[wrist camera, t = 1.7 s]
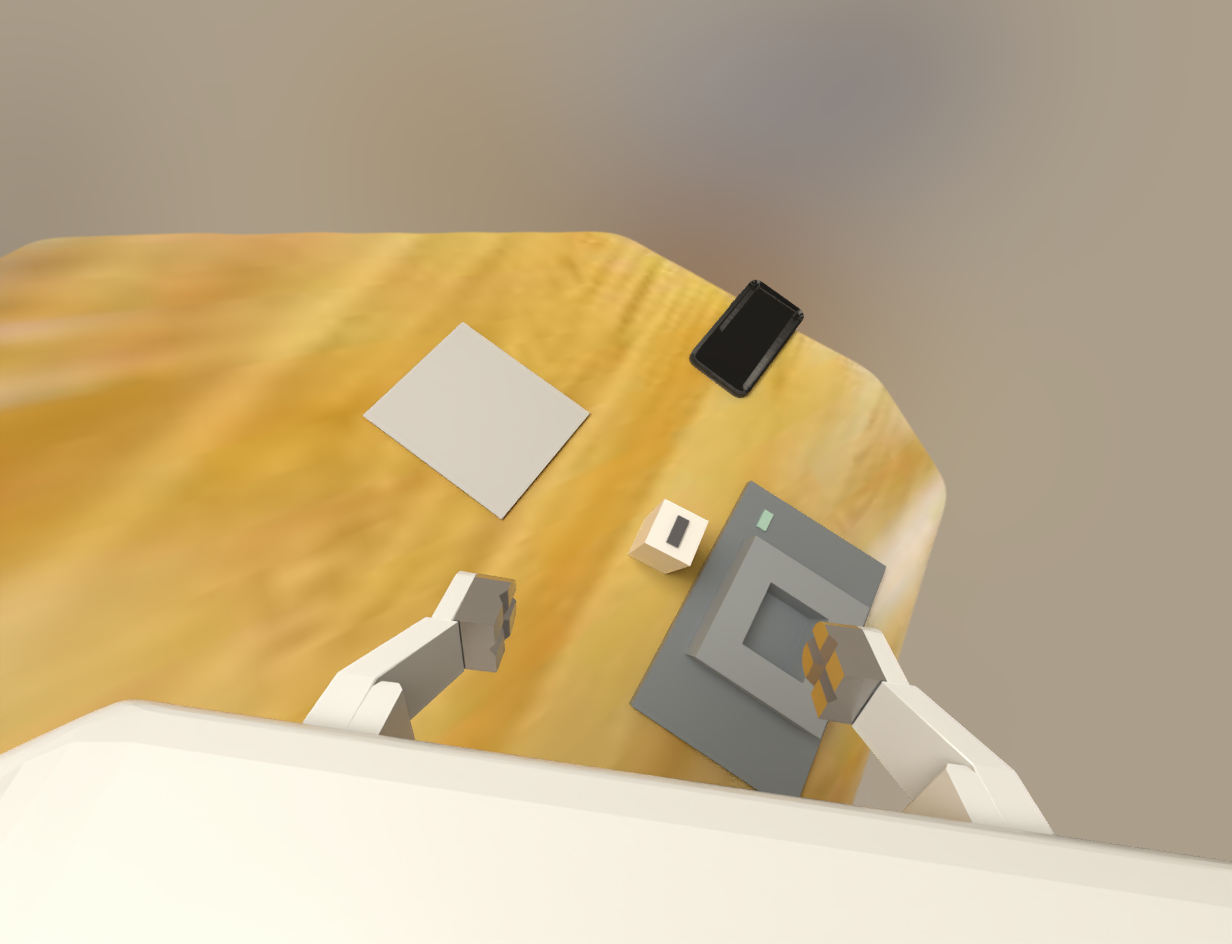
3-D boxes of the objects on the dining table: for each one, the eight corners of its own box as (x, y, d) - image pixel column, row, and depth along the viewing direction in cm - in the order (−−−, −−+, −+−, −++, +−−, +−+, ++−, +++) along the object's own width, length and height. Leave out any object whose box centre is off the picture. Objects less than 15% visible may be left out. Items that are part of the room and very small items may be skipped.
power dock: (787, 809, 38) (813, 830, 34) (629, 703, 38) (638, 713, 35) (879, 567, 46) (909, 563, 42) (746, 483, 46) (764, 471, 42)
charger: (664, 574, 42) (691, 565, 34) (627, 554, 42) (645, 542, 34) (680, 536, 44) (709, 520, 36) (644, 518, 44) (665, 498, 36)
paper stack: (520, 271, 50) (519, 267, 50) (700, 398, 49) (702, 395, 48) (365, 418, 43) (362, 415, 42) (572, 573, 41) (573, 572, 41)
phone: (807, 314, 53) (744, 398, 48) (802, 319, 54) (739, 403, 49) (754, 276, 54) (686, 355, 49) (749, 282, 55) (683, 361, 50)
